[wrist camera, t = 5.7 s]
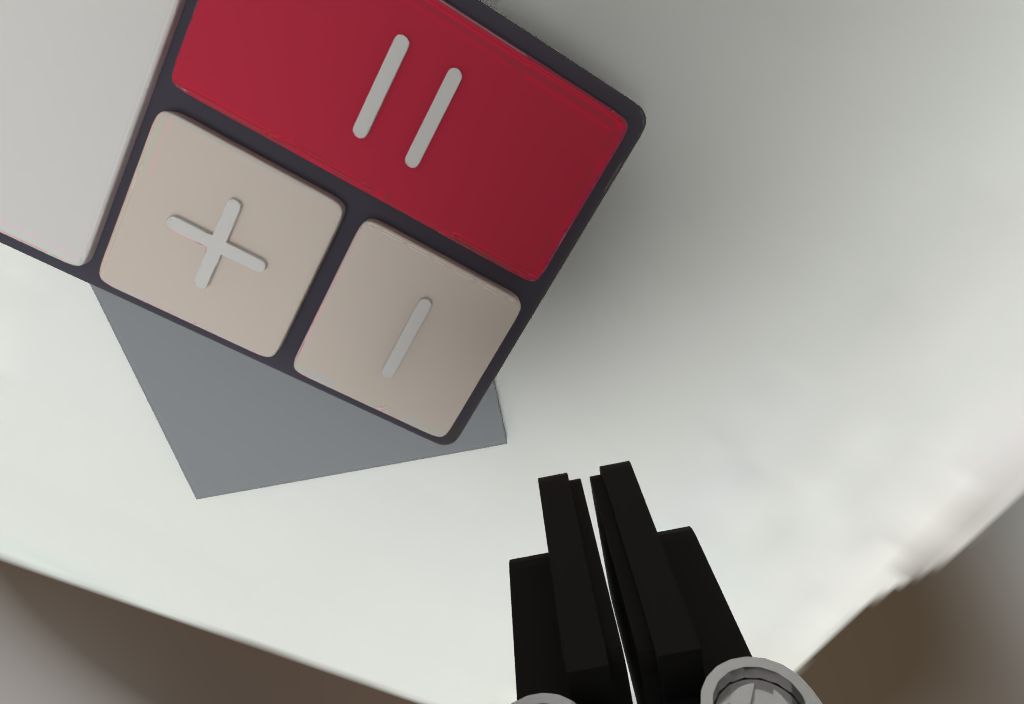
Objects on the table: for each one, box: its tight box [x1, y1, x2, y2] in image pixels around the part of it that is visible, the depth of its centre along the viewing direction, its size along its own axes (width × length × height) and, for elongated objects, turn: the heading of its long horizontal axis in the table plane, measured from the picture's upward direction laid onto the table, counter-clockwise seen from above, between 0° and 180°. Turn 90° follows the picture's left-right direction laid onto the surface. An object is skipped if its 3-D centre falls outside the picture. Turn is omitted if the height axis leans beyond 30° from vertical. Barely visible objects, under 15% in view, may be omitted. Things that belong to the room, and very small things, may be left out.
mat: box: [90, 284, 507, 499], centre depth 21 cm, size 12×11×1 cm
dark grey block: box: [0, 0, 646, 445], centre depth 17 cm, size 11×4×15 cm
